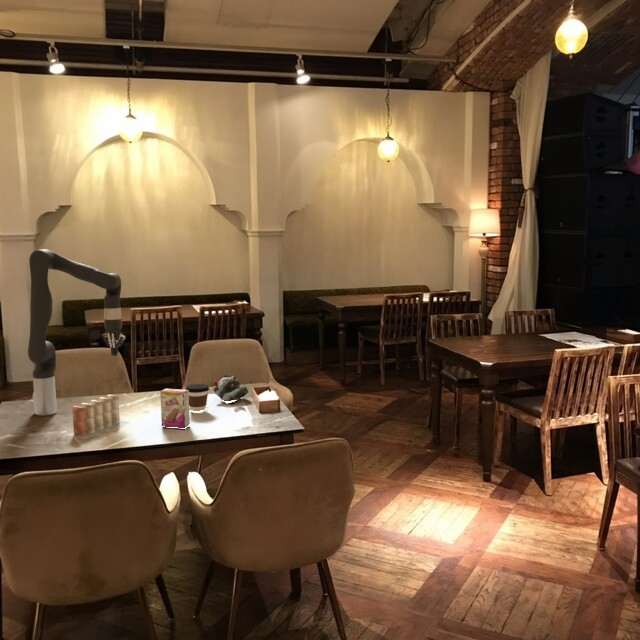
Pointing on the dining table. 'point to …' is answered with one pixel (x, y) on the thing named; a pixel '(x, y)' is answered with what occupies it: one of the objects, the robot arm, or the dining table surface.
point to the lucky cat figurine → (229, 389)
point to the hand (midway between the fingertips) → (114, 355)
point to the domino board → (97, 430)
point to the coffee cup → (197, 396)
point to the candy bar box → (175, 408)
